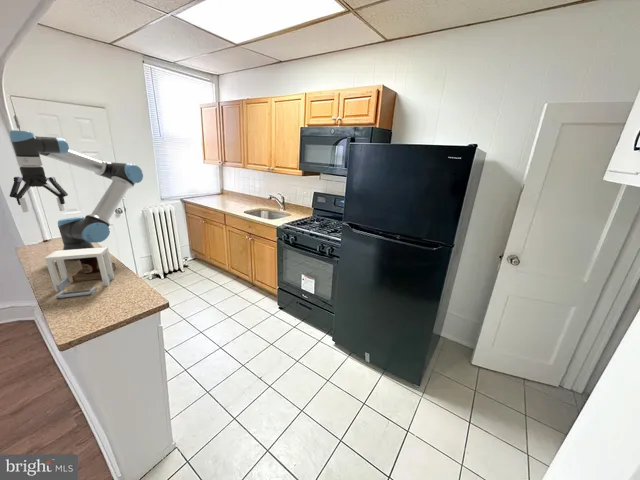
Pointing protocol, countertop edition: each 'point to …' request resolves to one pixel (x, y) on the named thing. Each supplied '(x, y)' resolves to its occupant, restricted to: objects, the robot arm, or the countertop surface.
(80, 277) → the wooden frame
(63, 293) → the grey flat piece
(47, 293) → the countertop surface
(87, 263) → the coffee cup
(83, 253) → the tunnel
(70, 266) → the countertop surface
